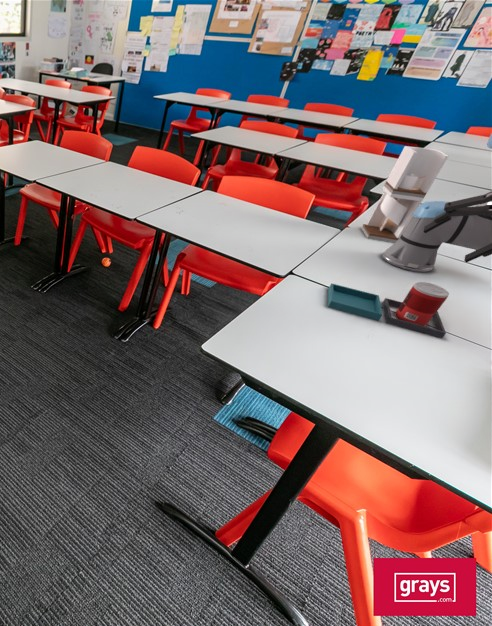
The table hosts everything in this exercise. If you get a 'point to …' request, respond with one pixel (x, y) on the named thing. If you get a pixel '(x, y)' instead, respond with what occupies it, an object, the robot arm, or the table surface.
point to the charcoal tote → (408, 325)
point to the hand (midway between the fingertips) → (445, 244)
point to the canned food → (421, 303)
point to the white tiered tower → (404, 192)
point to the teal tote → (354, 302)
